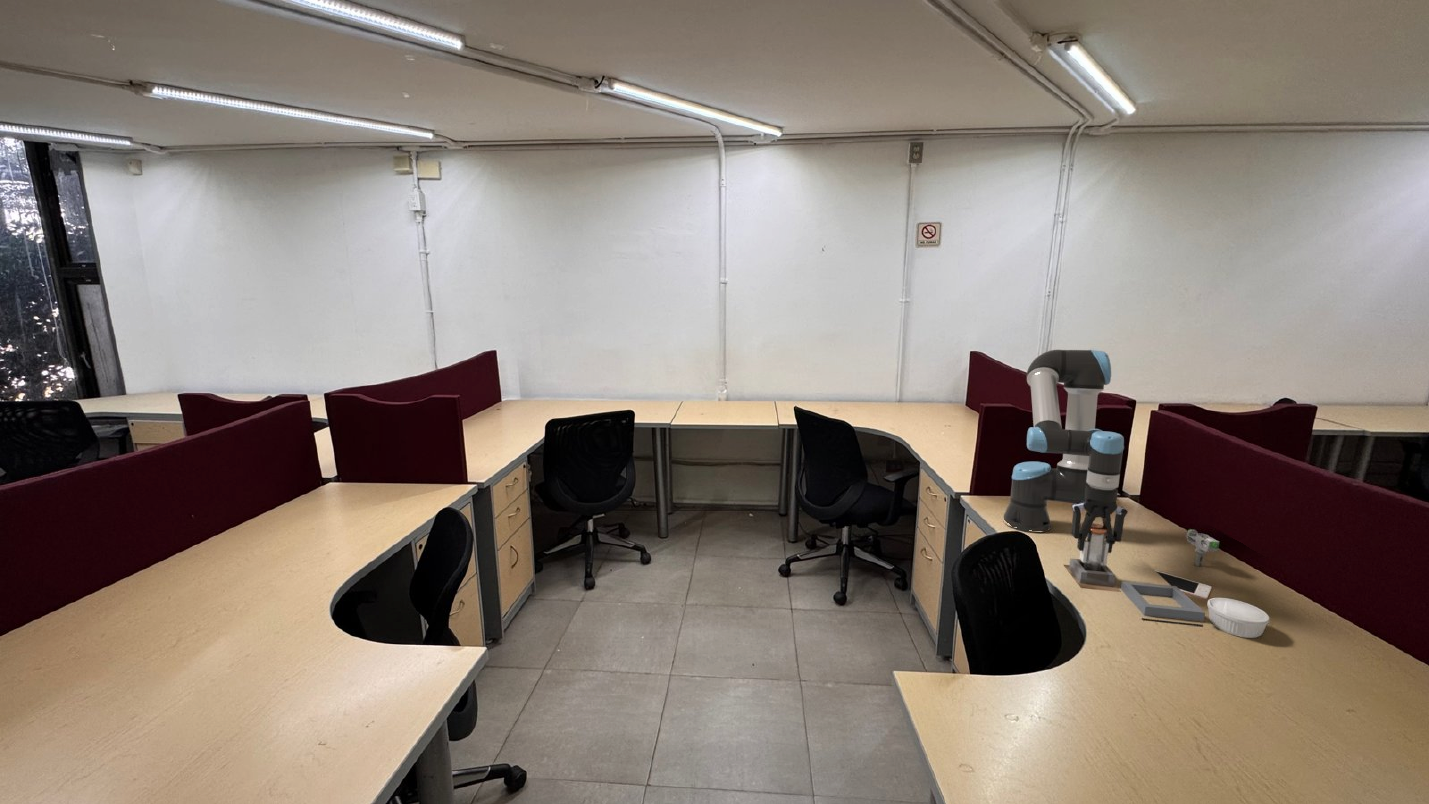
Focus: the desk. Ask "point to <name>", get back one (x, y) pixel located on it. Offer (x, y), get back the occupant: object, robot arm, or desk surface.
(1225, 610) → the ramekin
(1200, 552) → the mechanical component
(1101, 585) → the block
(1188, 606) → the tray
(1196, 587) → the cell phone
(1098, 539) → the glass jar with lid
